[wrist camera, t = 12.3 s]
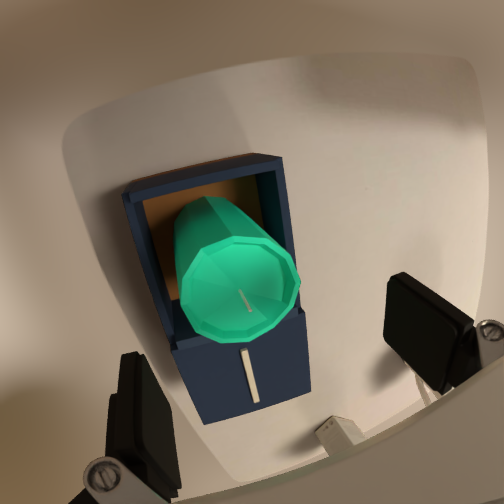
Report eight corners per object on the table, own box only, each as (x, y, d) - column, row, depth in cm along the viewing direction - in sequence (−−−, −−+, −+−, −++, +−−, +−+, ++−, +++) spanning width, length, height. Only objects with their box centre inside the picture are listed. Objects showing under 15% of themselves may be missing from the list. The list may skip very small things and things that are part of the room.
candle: (242, 189, 24) (310, 233, 13) (251, 260, 26) (313, 344, 15) (165, 203, 23) (167, 263, 12) (180, 275, 25) (198, 375, 14)
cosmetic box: (313, 432, 40) (348, 493, 29) (333, 413, 40) (373, 474, 29) (337, 436, 43) (371, 490, 32) (356, 419, 42) (394, 472, 31)
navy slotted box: (131, 180, 23) (118, 196, 16) (253, 152, 25) (288, 157, 18) (193, 373, 31) (204, 427, 24) (283, 346, 32) (312, 393, 26)
